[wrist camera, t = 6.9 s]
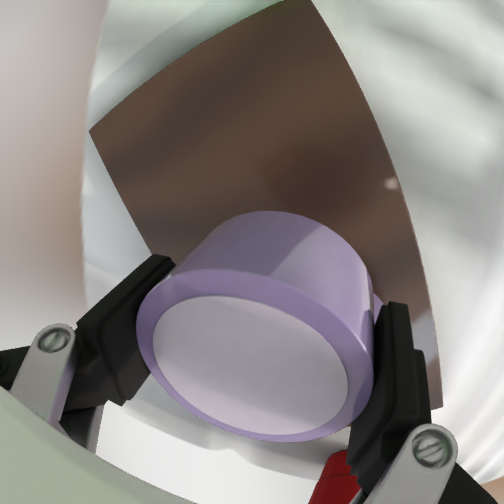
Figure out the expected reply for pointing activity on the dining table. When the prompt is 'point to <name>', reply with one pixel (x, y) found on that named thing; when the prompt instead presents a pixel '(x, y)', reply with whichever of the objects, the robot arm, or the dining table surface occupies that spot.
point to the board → (268, 153)
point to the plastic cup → (335, 482)
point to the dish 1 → (265, 329)
